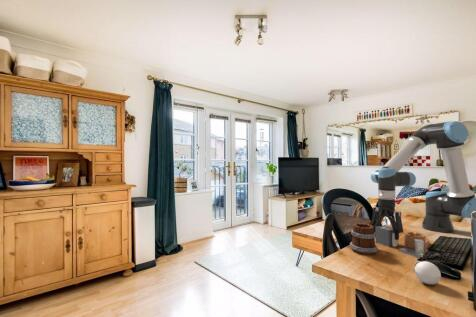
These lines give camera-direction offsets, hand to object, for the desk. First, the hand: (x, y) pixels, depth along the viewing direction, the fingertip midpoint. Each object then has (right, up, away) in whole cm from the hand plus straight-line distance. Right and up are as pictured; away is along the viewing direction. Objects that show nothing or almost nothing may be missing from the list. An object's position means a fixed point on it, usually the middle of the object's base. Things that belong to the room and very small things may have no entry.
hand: (386, 242), depth 126 cm
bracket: (+14, -1, -2) cm, 14 cm away
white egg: (-11, 0, -41) cm, 43 cm away
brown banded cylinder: (-16, -1, -9) cm, 18 cm away
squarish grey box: (0, 0, 0) cm, 0 cm away
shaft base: (+7, 0, -13) cm, 15 cm away
